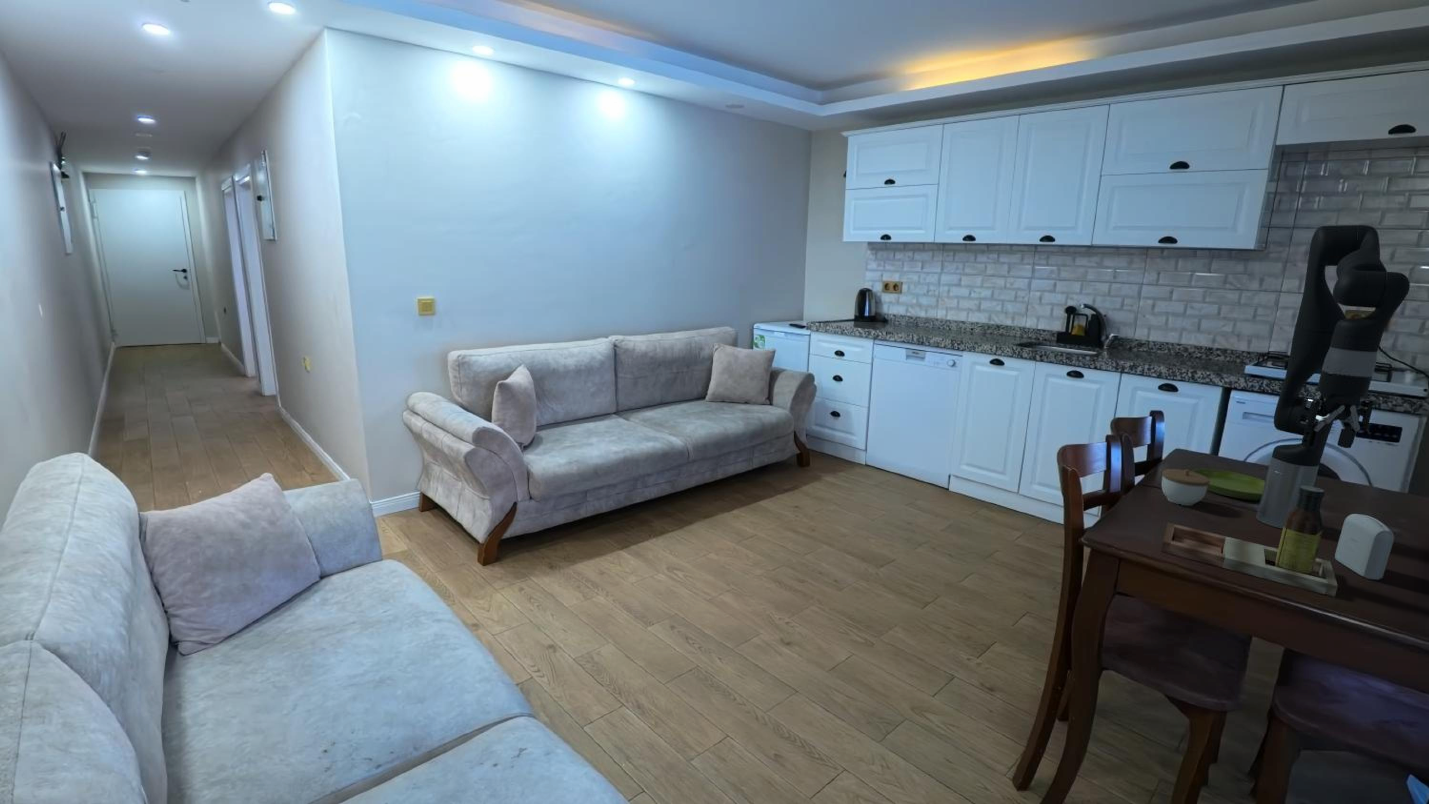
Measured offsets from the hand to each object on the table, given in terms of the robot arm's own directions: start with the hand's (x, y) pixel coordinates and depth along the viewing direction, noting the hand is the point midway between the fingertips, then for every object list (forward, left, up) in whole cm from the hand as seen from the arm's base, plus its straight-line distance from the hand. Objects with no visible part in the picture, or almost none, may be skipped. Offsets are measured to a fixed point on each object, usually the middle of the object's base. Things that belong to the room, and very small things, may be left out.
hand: (1325, 447), depth 136 cm
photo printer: (-18, -1, -30) cm, 34 cm away
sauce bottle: (0, 0, -29) cm, 29 cm away
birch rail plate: (+6, -6, -29) cm, 30 cm away
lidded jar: (-9, -40, -30) cm, 50 cm away
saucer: (-33, -48, -30) cm, 65 cm away
